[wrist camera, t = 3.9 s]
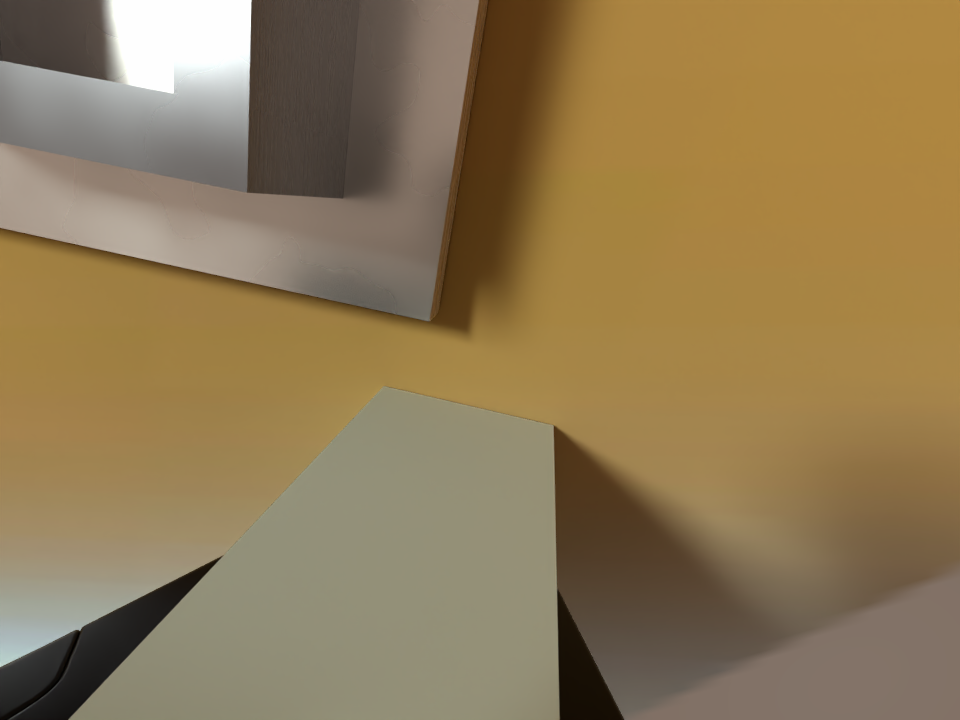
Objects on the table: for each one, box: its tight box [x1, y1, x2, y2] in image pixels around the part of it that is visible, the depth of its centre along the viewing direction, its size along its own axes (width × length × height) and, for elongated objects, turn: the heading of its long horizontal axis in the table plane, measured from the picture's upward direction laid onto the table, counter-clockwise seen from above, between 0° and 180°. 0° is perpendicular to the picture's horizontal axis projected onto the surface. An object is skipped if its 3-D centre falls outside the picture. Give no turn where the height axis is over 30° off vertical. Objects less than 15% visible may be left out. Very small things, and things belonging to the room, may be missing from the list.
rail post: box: [68, 386, 560, 720], centre depth 7 cm, size 4×4×9 cm
